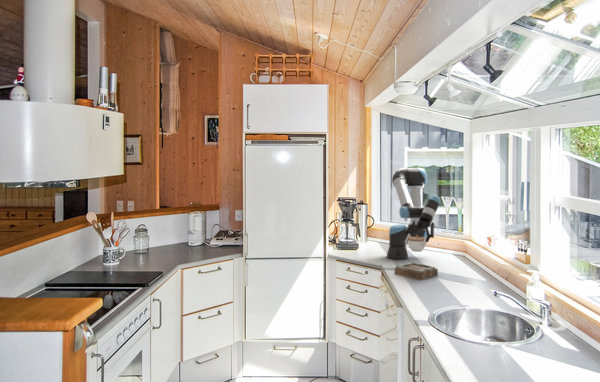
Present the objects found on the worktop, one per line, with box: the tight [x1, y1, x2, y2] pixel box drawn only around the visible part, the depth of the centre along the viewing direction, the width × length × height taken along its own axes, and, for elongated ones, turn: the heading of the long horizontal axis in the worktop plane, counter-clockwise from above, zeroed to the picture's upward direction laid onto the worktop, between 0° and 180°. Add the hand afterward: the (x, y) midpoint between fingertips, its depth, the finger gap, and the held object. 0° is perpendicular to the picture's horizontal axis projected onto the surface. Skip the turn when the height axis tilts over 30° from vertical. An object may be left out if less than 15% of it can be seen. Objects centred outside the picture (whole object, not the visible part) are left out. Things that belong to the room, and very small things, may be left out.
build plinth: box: [394, 262, 439, 281], centre depth 261 cm, size 18×18×5 cm
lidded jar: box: [407, 235, 426, 253], centre depth 260 cm, size 11×11×9 cm
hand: (414, 244), depth 258 cm, fingers closed on lidded jar, 11 cm apart
